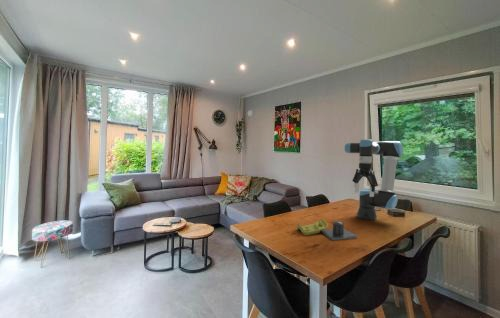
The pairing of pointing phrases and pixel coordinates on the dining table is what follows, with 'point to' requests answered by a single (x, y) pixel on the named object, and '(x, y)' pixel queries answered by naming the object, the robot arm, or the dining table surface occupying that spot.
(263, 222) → the dining table surface
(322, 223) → the plastic component
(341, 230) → the knob
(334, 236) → the hub plate
